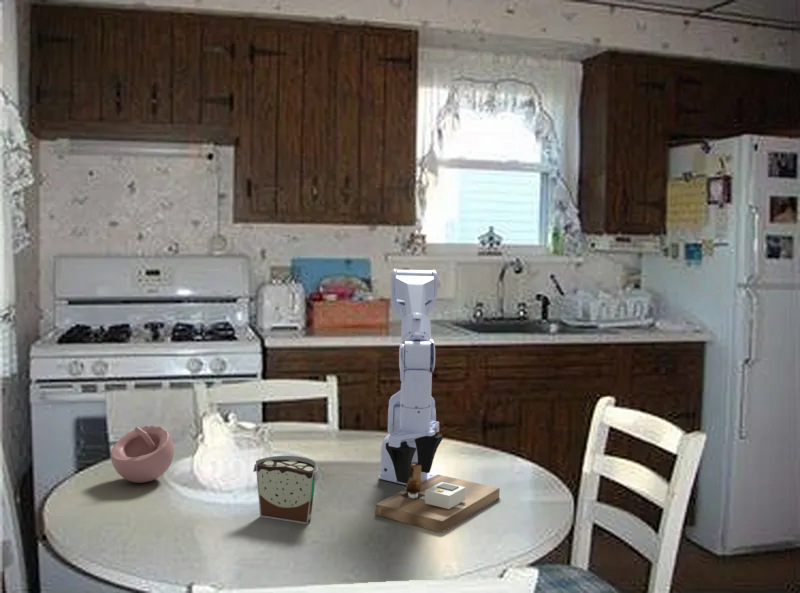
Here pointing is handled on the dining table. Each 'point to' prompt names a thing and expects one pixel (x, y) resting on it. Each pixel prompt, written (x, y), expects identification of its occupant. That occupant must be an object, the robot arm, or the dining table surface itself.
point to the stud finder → (445, 495)
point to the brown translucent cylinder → (414, 481)
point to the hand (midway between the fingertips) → (413, 476)
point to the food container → (286, 487)
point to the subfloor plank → (433, 515)
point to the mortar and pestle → (143, 454)
